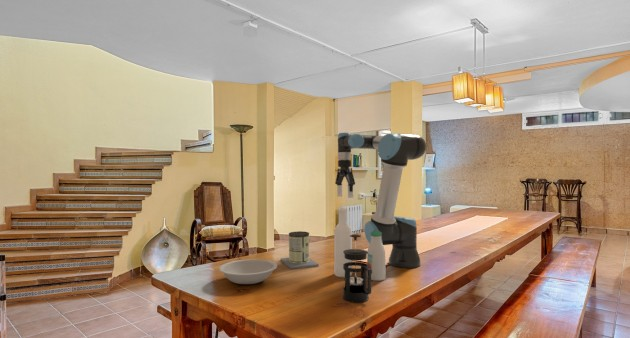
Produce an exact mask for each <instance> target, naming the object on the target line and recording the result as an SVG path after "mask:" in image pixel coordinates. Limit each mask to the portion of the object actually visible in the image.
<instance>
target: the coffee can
mask: <svg viewBox="0 0 630 338" xmlns="http://www.w3.org/2000/svg"><path fill="white" fill-rule="evenodd" d="M288 258H289V262H290V263H295V264H302V263H307V262H309V258H310V232H307V231H291V232H288Z"/></svg>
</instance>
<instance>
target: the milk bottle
mask: <svg viewBox="0 0 630 338" xmlns="http://www.w3.org/2000/svg"><path fill="white" fill-rule="evenodd" d="M381 236H382V233H381V232H379V231H372V232H371V242H370V243H369V244H368V247H367V250H366V251H367V252H368V254H367V258H366V260H367V261H366V264H367V265H368V268H370V269H371V281H375V282H377V281H378V282H379V281H380V282H381V281H384V280H385V279H386V271H387V270H386V249H385V245H383V244H382V241H381ZM367 278H368V271H367Z"/></svg>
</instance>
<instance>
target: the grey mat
mask: <svg viewBox="0 0 630 338" xmlns="http://www.w3.org/2000/svg"><path fill="white" fill-rule="evenodd" d="M280 261H281V263H283V264H284V265H285V266H286V267H288V268H289V269H290V270H297V269H306V268H316V267H317V268H318V267H319V266H320V265H319V263H317V262H316V261H315V260H313V259H311V258H310V257H309V262H307V263H302V264H295V263H290V262H289V257H282V258H281V257H280Z"/></svg>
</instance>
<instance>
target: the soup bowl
mask: <svg viewBox="0 0 630 338" xmlns="http://www.w3.org/2000/svg"><path fill="white" fill-rule="evenodd" d="M277 268H278V263H276V262H275V261H272V260H267V259H259V258H250V259H248V258H247V259H240V260H239V259H238V260H231V261H229V262H225V263H223V264H222V265H221V264H220V266H219V267H218V271H219V273H222V274H223V276H224V277H225V278H226V279H227V280H229V281H230V282H232V283H234V284H239V285H253V284H258V283H261V282H264V281H265V280H267V279H268V278H269V277H270V276H271V275H272V273H273V272H274V270H276V269H277Z"/></svg>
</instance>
